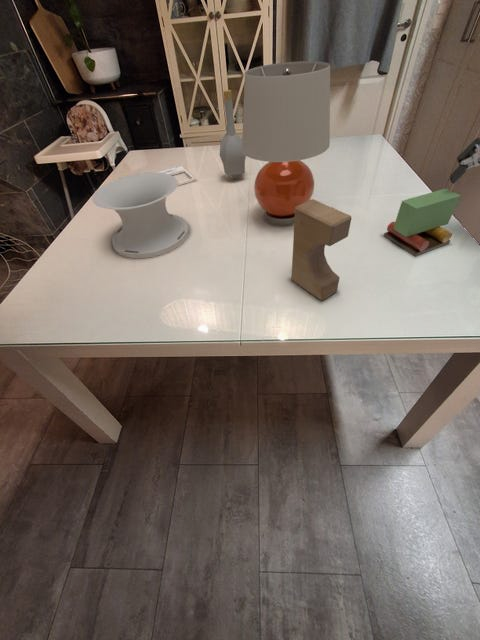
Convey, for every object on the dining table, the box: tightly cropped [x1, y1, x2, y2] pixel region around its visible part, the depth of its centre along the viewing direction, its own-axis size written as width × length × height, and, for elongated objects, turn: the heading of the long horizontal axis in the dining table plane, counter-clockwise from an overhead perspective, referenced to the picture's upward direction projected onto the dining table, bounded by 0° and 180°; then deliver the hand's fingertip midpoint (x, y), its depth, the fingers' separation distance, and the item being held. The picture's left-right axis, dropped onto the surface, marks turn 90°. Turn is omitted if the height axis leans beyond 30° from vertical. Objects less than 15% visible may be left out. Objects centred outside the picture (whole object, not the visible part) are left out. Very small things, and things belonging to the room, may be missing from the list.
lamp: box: [241, 60, 331, 227], centre depth 86 cm, size 25×25×39 cm
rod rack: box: [383, 221, 453, 257], centre depth 84 cm, size 12×12×4 cm
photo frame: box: [156, 165, 196, 186], centre depth 131 cm, size 15×1×18 cm
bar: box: [393, 188, 462, 237], centre depth 79 cm, size 5×14×8 cm, turn 110°
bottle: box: [219, 89, 247, 180], centre depth 115 cm, size 11×11×30 cm
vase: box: [91, 171, 190, 259], centre depth 93 cm, size 25×25×16 cm
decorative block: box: [290, 198, 352, 302], centre depth 68 cm, size 11×6×20 cm, turn 34°
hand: (466, 187), depth 72 cm, fingers open, 8 cm apart
